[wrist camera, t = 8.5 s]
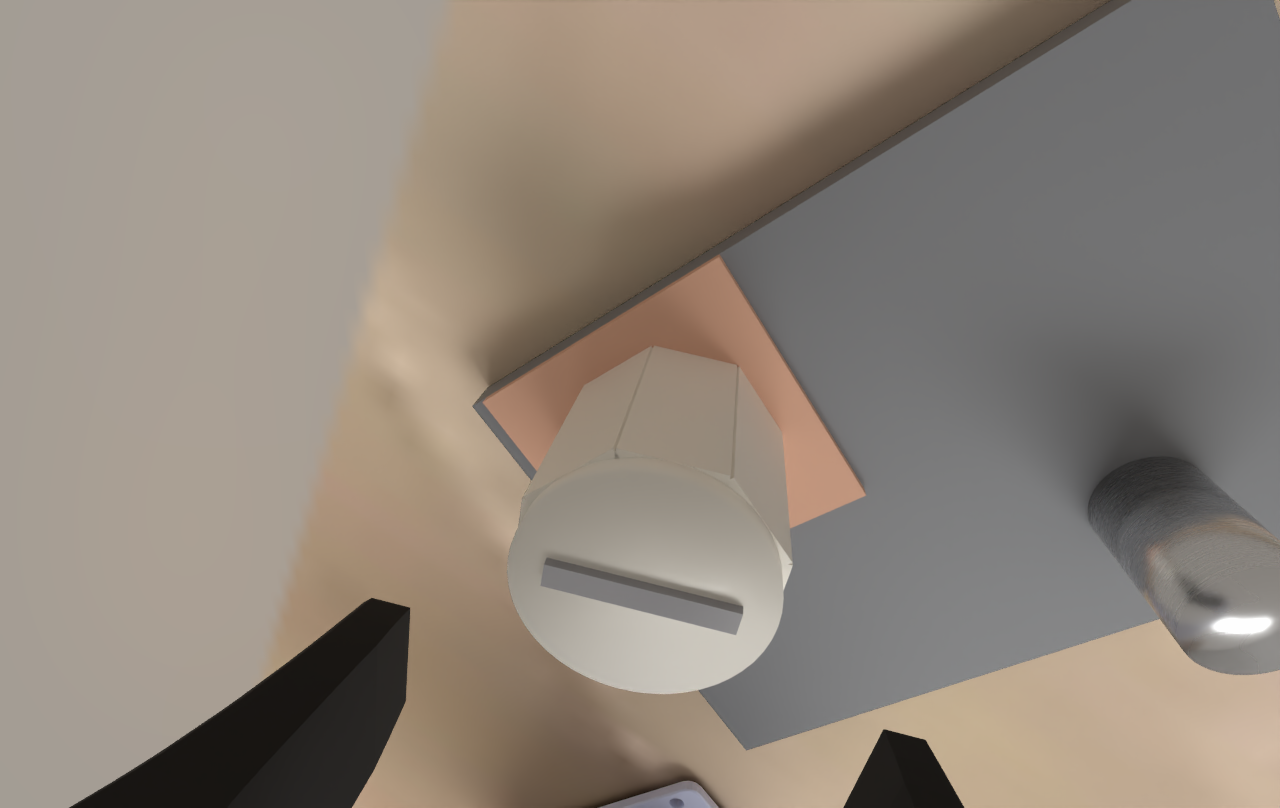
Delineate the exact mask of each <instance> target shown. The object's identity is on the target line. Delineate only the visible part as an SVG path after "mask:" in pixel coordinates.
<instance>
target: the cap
mask: <svg viewBox="0 0 1280 808" xmlns="http://www.w3.org/2000/svg"><path fill="white" fill-rule="evenodd" d="M792 566H793V561H792V549H791V536H790V524H789V511H788V499H787V486H786V473H785V461H784V448H783V436H782V431H781V430H780V428H779V427H778V425H777V424H776V422H775V421H774V419H773V417H772V416H771V414H770V413H769V411H768V410H767V408H766V407H765V405H764V404H763V402H762V400H761V399H760V397H759V396H758V394H757V393H756V391H755V390H754V388H753V387H752V385H751V383H750V382H749V380H748V379H747V377H746V376H745V374H744V373H743V371H742V370H741V368H740V366H739V367H737V365H736V364H731V363H727V362H723V361H719V360H714V359H710V358H706V357H701V356H697V355H693V354H689V353H684V352H680V351H676V350H671V349H667V348H663V347H658V346H654V347H653V348H652V346H650V347H648V348H647V349H645V350H643V351H642V352H640V353H638V354H636V355H635V356H633V357H631V358H630V359H628V360H626V361H625V362H623V363H621V364H619V365H618V366H616V367H614V368H613V369H611V370H609V371H608V372H606V373H604V374H602V375H601V376H599V377H597V378H596V379H594V380H592V381H591V382H589V383H587V384H585V385H584V386H583V388H582V390H581V391H580V393H579V395H578V397H577V399H576V401H575V402H574V404H573V406H572V408H571V410H570V412H569V413H568V415H567V417H566V419H565V421H564V423H563V424H562V426H561V428H560V430H559V432H558V434H557V435H556V437H555V439H554V441H553V443H552V445H551V447H550V448H549V450H548V452H547V454H546V456H545V458H544V459H543V461H542V463H541V465H540V467H539V469H538V470H537V472H536V474H535V476H534V478H533V480H532V481H531V483H530V485H529V487H528V489H527V491H526V492H525V494H524V496H523V498H522V503H521V510H520V518H519V525H518V529H517V531H516V533H515V536H514V538H513V541H512V543H511V546H510V551H509V556H508V566H507V575H508V584H509V589H510V593H511V597H512V601H513V603H514V605H515V608H516V610H517V612H518V614H519V616H520V618H521V620H522V621H523V623H524V625H525V626H526V628H527V629H528V630H529V632H530V633H531V634H532V635H533V637H534V638H535V639H536V640H537V641H538V642H539V643H540V644H541V645H542V646H543V647H544V649H545V650H546V651H548V652H549V653H550V654H551V655H553V656H554V657H555V658H556V659H557V660H559V661H560V662H562V663H563V664H565V665H566V666H568V667H569V668H571V669H572V670H574V671H576V672H578V673H580V674H582V675H584V676H585V677H587V678H590V679H592V680H595V681H597V682H600V683H602V684H605V685H608V686H612V687H615V688H618V689H623V690H628V691H632V692H640V693H648V694H674V693H685V692H690V691H696V690H701V689H704V688H707V687H711V686H714V685H716V684H719V683H721V682H723V681H726V680H728V679H730V678H732V677H733V676H735V675H737V674H738V673H740V672H742V671H743V670H744V669H746V668H747V667H748V666H750V665H751V664H752V663H753V662H754V661H755V660H756V659H757V658H758V657H759V656H760V655H761V654H762V653H763V652H764V651H765V649H766V648H767V646H768V645H769V643H770V642H771V641H772V639H773V637H774V635H775V633H776V630H777V628H778V626H779V622H780V619H781V615H782V610H783V600H784V595H783V591H784V588H785V585H786V583H787V580H788V577H789V575H790V572H791V569H792Z"/></svg>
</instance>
